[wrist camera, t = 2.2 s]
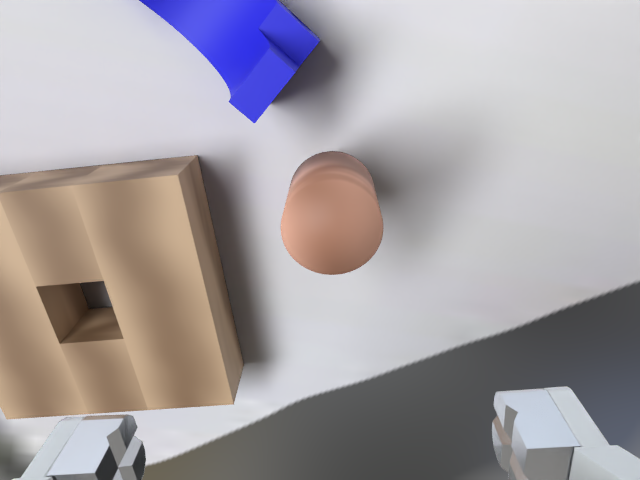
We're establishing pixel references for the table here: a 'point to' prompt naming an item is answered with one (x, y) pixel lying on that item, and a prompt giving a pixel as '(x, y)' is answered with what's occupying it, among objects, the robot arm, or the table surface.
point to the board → (113, 292)
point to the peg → (332, 214)
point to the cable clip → (243, 44)
